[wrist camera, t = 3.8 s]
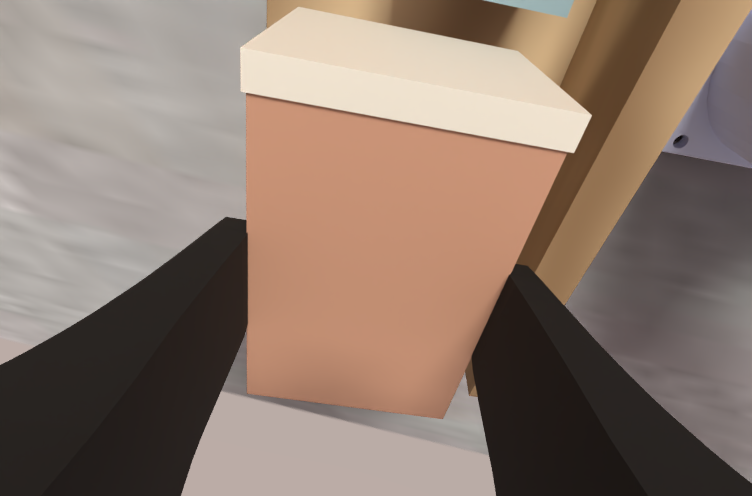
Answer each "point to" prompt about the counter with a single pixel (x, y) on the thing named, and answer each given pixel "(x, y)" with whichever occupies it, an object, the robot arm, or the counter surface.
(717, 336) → the counter surface
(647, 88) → the shelf
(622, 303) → the counter surface
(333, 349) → the boxed book
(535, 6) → the pale blue cube
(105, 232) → the counter surface
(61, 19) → the counter surface
